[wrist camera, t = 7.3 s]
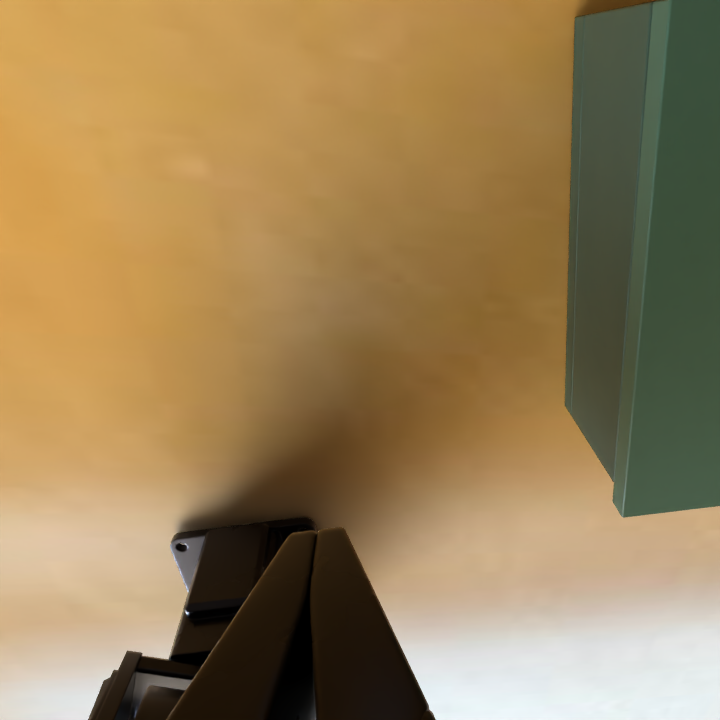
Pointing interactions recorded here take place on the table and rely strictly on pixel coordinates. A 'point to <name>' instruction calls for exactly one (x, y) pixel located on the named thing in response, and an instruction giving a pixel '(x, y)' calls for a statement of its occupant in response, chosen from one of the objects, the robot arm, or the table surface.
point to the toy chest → (603, 214)
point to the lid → (675, 275)
